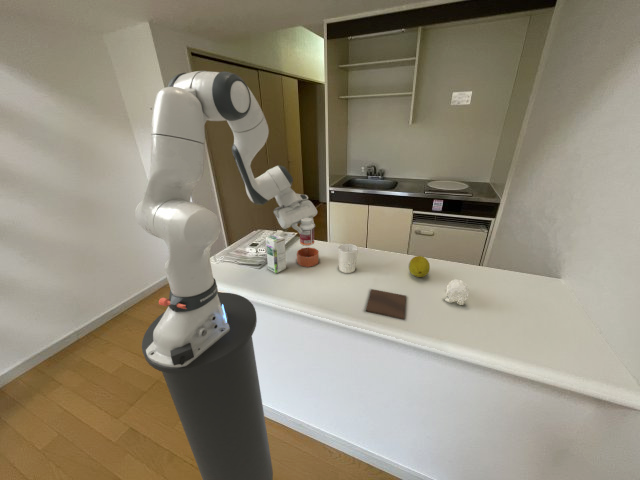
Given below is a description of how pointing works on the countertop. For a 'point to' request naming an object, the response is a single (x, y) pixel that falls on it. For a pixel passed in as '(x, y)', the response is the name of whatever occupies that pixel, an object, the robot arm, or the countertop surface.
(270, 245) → the syrup box
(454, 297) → the white lumpy piece
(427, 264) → the lemon
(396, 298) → the walnut board
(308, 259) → the orange round bowl
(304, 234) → the pill bottle
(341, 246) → the white cup
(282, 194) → the robot arm
